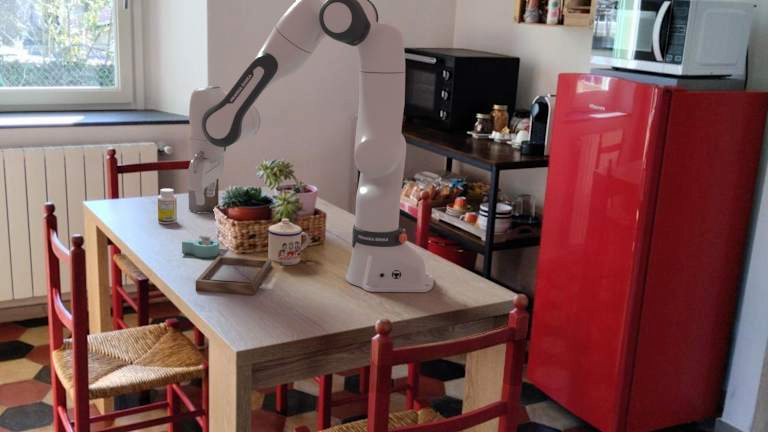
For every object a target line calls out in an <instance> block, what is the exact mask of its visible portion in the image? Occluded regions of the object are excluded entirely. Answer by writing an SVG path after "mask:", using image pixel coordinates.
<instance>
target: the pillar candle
mask: <svg viewBox="0 0 768 432" xmlns="http://www.w3.org/2000/svg"><path fill="white" fill-rule="evenodd" d="M187 170H188V171H187V172H188V175H189V168H188V169H187ZM207 190H208V187H206V188H205V189H204V192H203V193H204V198H205V203H204V204H203V205H197V204H196V196H195V191H192V190H189V189H188V211H189V210H191V211H190V212H193V211H195V212H211V213H214V212H213V209H214V207H215V206H217V205H218V206H219V178H218V179H217V180H216V187H215V195H214V196H213V197H208V196H207ZM195 212H194V213H195Z"/></svg>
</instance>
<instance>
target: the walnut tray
mask: <svg viewBox="0 0 768 432" xmlns="http://www.w3.org/2000/svg"><path fill="white" fill-rule="evenodd" d="M221 264H226V265H227V264H228V265H240V266H253V267H261V269H260V270H259V271H258V273H257V274H256V276H255V277H254V279H252V281H251V282H247V281H236V280H222V279H221V280H220V279H211V278H210V277H211V275H212V274H213V273H214V272H215V271H216V270H217V268H218V267H220V265H221ZM271 267H272V260H270V259H260V258H248V257H247V258H245V257H235V256H225V255H224V256H218V257H217V258H216V259H215V260H212V262H211V264H209V266H208V267H207V268H206V269H204V271H203V272H202V273H201V274H200V275H199V276H198V278H197V279H196V280H195V291H197V292H205V293H206V292H207V293H209V292H210V293H218V294H219V293H221V294H232V295H233V294H234V295H247V296H255V294H256V292H257V291H258V290H259V288H260V287H261V285H262V283H261V282H262V280H263V279H264V278H265V276H266V274H267V273H268V271H269V270H270V269H271Z"/></svg>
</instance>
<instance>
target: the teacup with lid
mask: <svg viewBox="0 0 768 432" xmlns="http://www.w3.org/2000/svg"><path fill="white" fill-rule="evenodd" d="M267 232H268V252H267V255H268V256H267V257H268V260H271V262H272V261H273V262H275V263H276V262H277V263H281V264H280V266H293V265H294V266H295V265H296V264H298V263H300V261H301V252H302V250H304V249H305V248H306V247H307V246H308V244H309V241H310V238H309V235H308V233H307V232H304V231H303V229H302V228H301V227H300V226H299V225H296V224H294V223H292V222H290V219H289V218H282V219H281V221H279V222H277V223H276V224H272V225H270V226H269V227H268V229H267ZM302 236H304V243H303V244H302Z"/></svg>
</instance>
